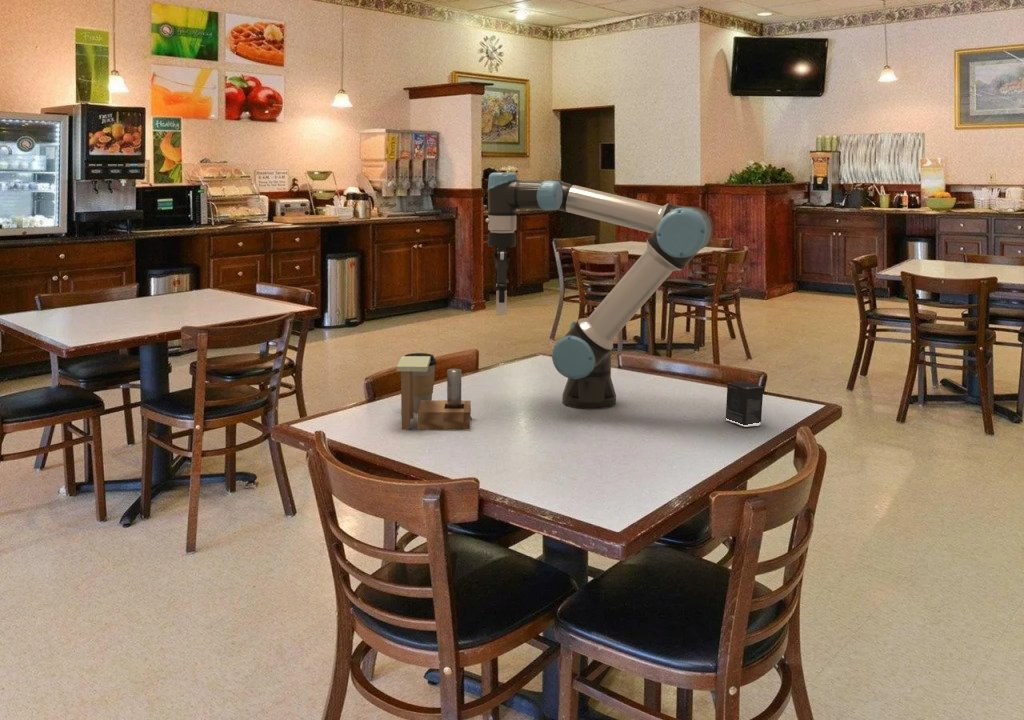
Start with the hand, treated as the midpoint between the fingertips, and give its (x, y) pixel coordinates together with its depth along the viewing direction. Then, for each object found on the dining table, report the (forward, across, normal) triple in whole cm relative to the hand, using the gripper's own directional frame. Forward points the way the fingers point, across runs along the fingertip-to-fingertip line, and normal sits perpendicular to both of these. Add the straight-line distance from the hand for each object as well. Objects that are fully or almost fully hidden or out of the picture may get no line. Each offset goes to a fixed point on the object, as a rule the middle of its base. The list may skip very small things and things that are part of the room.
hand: (501, 311), depth 253 cm
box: (+27, +16, +63) cm, 70 cm away
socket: (+27, +17, -15) cm, 35 cm away
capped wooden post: (+27, +17, -22) cm, 39 cm away
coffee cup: (+27, +4, -22) cm, 35 cm away
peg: (+27, +17, -12) cm, 34 cm away
